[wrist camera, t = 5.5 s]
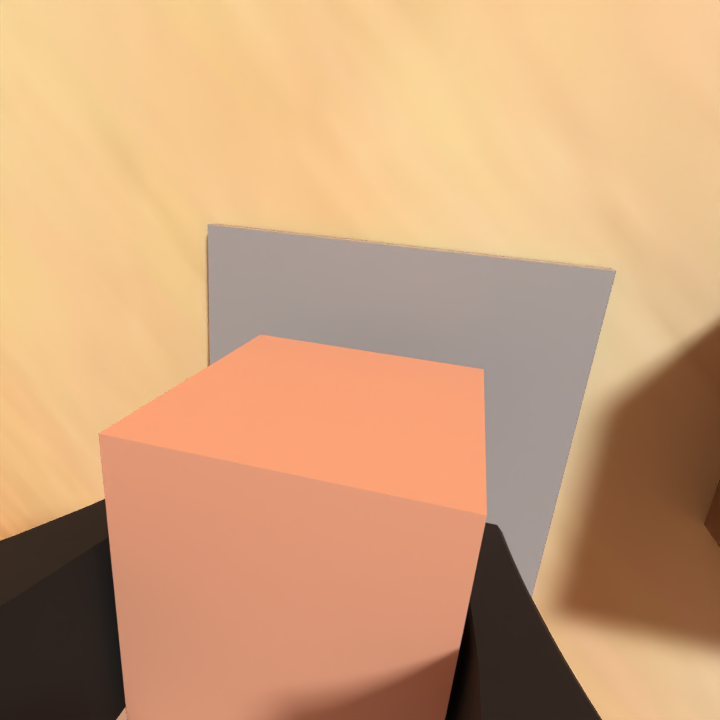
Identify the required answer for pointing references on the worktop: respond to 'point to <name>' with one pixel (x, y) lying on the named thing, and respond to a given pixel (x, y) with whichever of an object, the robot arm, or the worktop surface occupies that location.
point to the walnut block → (714, 516)
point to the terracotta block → (297, 535)
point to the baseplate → (434, 339)
